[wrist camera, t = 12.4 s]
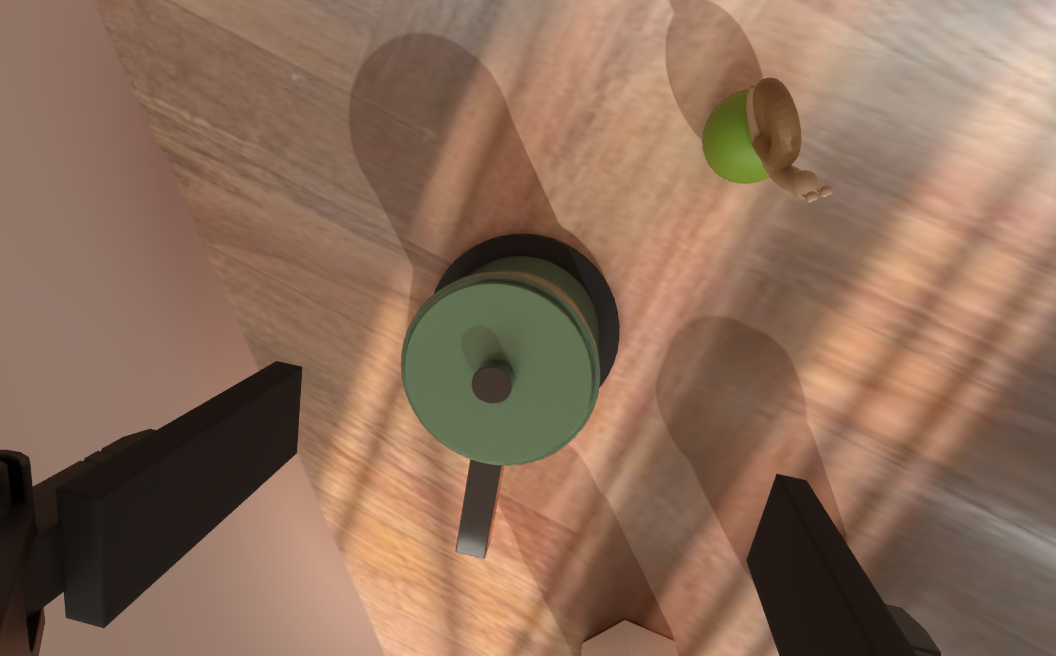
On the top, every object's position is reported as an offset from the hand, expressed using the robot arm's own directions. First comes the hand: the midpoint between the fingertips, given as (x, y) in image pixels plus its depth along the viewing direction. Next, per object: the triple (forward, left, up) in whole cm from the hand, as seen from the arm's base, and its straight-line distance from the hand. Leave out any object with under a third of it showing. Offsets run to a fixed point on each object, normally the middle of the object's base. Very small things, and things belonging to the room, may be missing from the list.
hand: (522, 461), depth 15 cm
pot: (+8, -3, -25) cm, 26 cm away
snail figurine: (-11, +9, -27) cm, 30 cm away
